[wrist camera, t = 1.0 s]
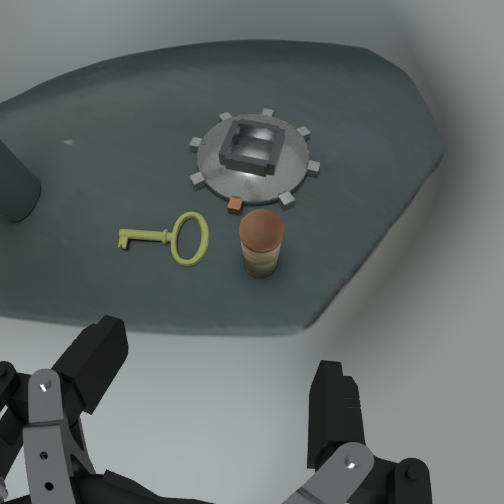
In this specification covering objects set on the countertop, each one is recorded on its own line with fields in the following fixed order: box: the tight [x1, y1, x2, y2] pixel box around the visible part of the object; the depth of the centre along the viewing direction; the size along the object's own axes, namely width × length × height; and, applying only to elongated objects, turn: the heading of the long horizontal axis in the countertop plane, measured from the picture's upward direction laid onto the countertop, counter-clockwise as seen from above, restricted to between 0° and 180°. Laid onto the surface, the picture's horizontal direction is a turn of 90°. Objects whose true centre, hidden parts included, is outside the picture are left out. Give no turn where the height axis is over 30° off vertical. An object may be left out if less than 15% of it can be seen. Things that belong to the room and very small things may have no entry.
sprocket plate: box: [189, 108, 320, 215], centre depth 40 cm, size 19×19×4 cm
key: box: [118, 212, 209, 266], centre depth 37 cm, size 7×12×2 cm, turn 105°
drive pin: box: [239, 209, 284, 278], centre depth 32 cm, size 4×4×10 cm
